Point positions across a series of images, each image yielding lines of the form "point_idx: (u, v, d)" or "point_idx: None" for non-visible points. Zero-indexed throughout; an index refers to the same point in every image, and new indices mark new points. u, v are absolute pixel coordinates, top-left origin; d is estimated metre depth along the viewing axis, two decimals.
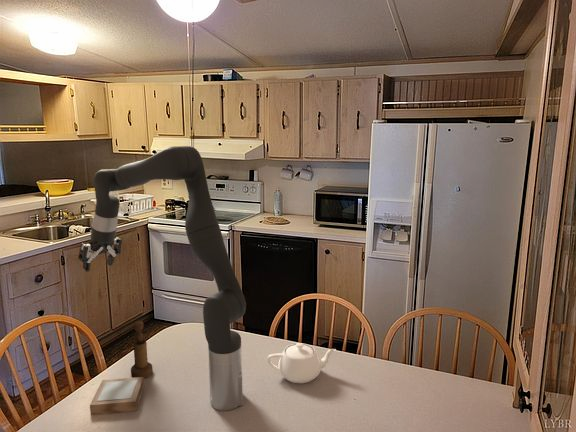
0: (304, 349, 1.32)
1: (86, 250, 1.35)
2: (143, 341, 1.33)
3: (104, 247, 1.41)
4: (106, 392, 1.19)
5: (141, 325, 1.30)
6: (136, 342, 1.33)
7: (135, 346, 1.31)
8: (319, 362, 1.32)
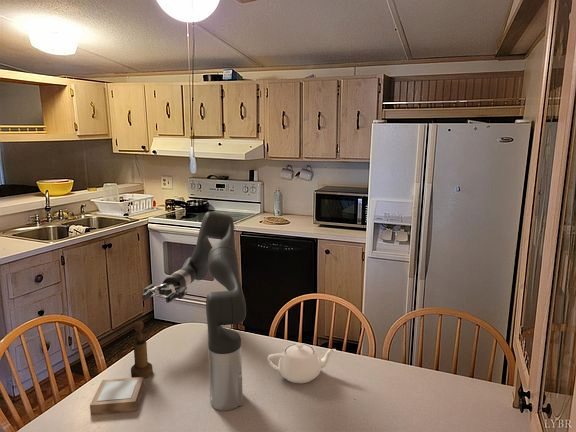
0: (304, 349, 1.32)
1: (152, 285, 1.50)
2: (143, 341, 1.33)
3: (168, 287, 1.49)
4: (106, 392, 1.19)
5: (141, 325, 1.30)
6: (136, 342, 1.33)
7: (135, 346, 1.31)
8: (319, 362, 1.32)
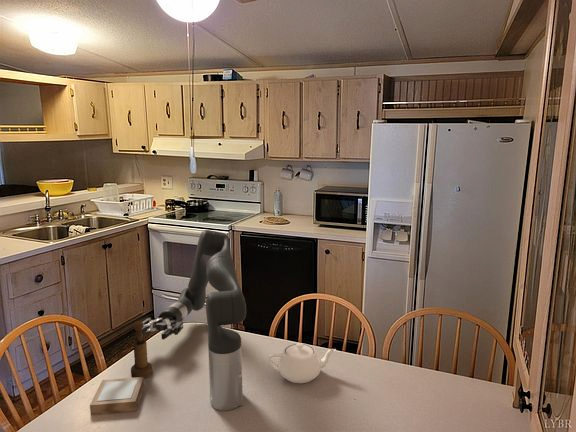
0: (304, 349, 1.32)
1: (147, 319, 1.48)
2: (143, 341, 1.33)
3: (164, 321, 1.47)
4: (106, 392, 1.19)
5: (141, 325, 1.30)
6: (136, 342, 1.33)
7: (135, 346, 1.31)
8: (319, 362, 1.32)
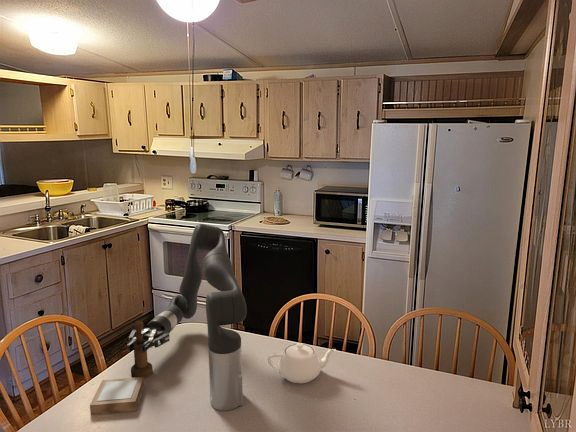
0: (304, 349, 1.32)
1: (134, 331, 1.39)
2: (143, 341, 1.33)
3: (151, 332, 1.38)
4: (106, 392, 1.19)
5: (141, 325, 1.30)
6: (136, 342, 1.33)
7: (135, 346, 1.31)
8: (319, 362, 1.32)
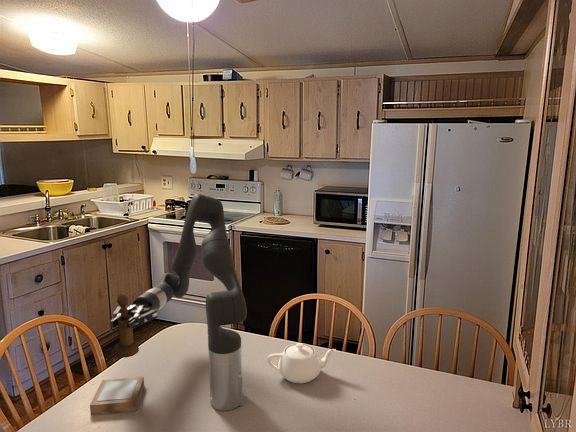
0: (304, 349, 1.32)
1: (119, 307, 1.29)
2: (128, 317, 1.24)
3: (138, 308, 1.29)
4: (106, 392, 1.19)
5: (125, 299, 1.21)
6: (120, 318, 1.23)
7: (119, 322, 1.21)
8: (319, 362, 1.32)
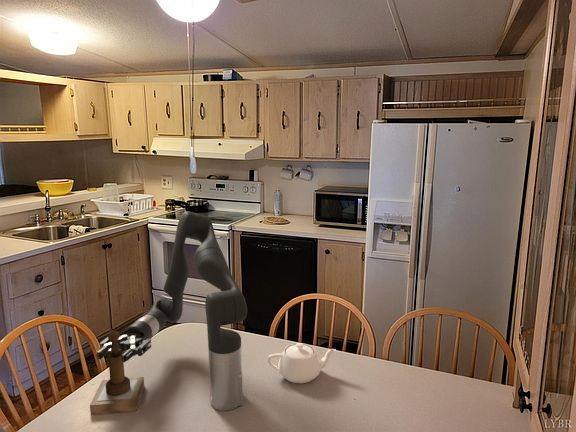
0: (304, 349, 1.32)
1: None
2: (119, 353, 1.20)
3: (129, 339, 1.24)
4: None
5: (116, 336, 1.17)
6: (111, 354, 1.19)
7: (110, 359, 1.17)
8: (319, 362, 1.32)
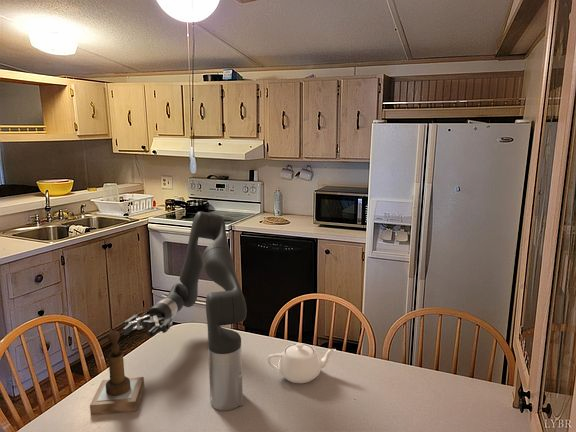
0: (304, 349, 1.32)
1: (134, 316, 1.39)
2: (119, 353, 1.20)
3: (151, 318, 1.37)
4: None
5: (116, 336, 1.17)
6: (111, 354, 1.19)
7: (110, 359, 1.17)
8: (319, 362, 1.32)
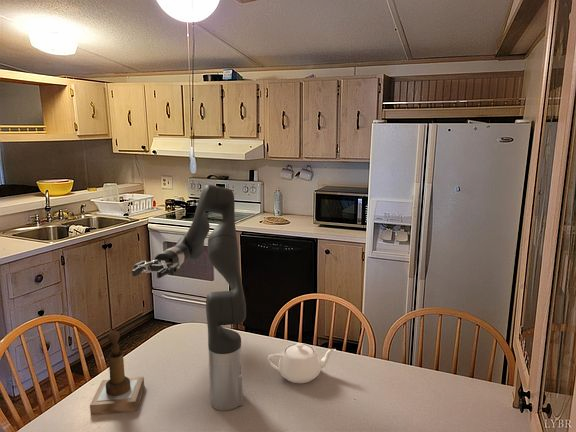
0: (304, 349, 1.32)
1: (143, 261, 1.42)
2: (120, 353, 1.20)
3: (159, 263, 1.40)
4: None
5: (117, 336, 1.17)
6: (112, 354, 1.19)
7: (110, 359, 1.17)
8: (319, 362, 1.32)
